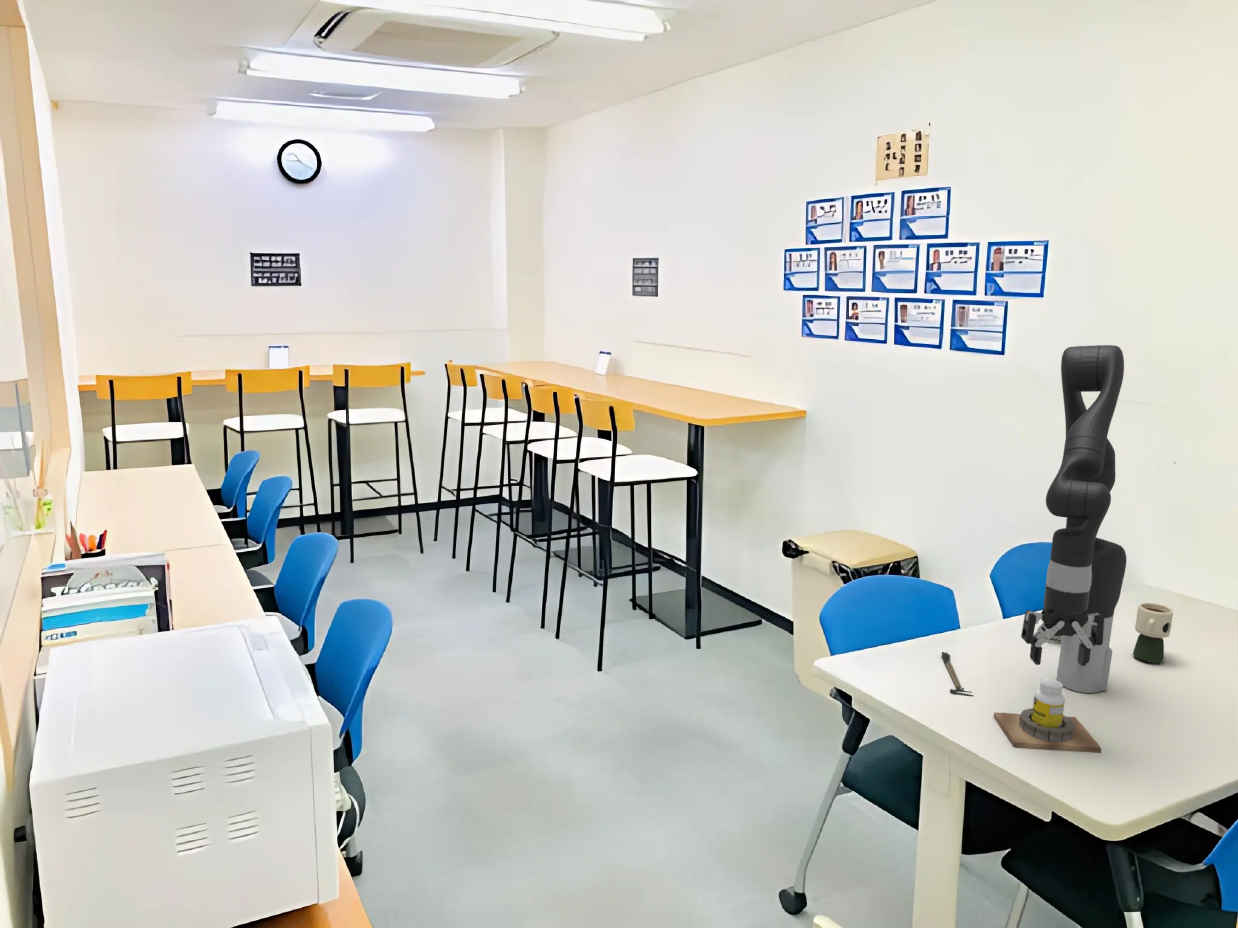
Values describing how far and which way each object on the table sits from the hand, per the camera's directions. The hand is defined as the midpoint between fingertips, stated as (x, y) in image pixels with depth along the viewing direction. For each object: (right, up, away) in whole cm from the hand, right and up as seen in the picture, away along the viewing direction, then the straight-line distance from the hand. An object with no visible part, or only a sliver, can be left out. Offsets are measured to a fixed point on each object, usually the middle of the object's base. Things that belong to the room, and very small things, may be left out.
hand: (1058, 663), depth 177 cm
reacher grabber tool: (-9, -9, +29) cm, 32 cm away
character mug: (+40, -8, +40) cm, 57 cm away
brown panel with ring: (-1, -15, +3) cm, 15 cm away
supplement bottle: (-1, -14, +3) cm, 14 cm away
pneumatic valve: (+23, -5, +52) cm, 57 cm away
